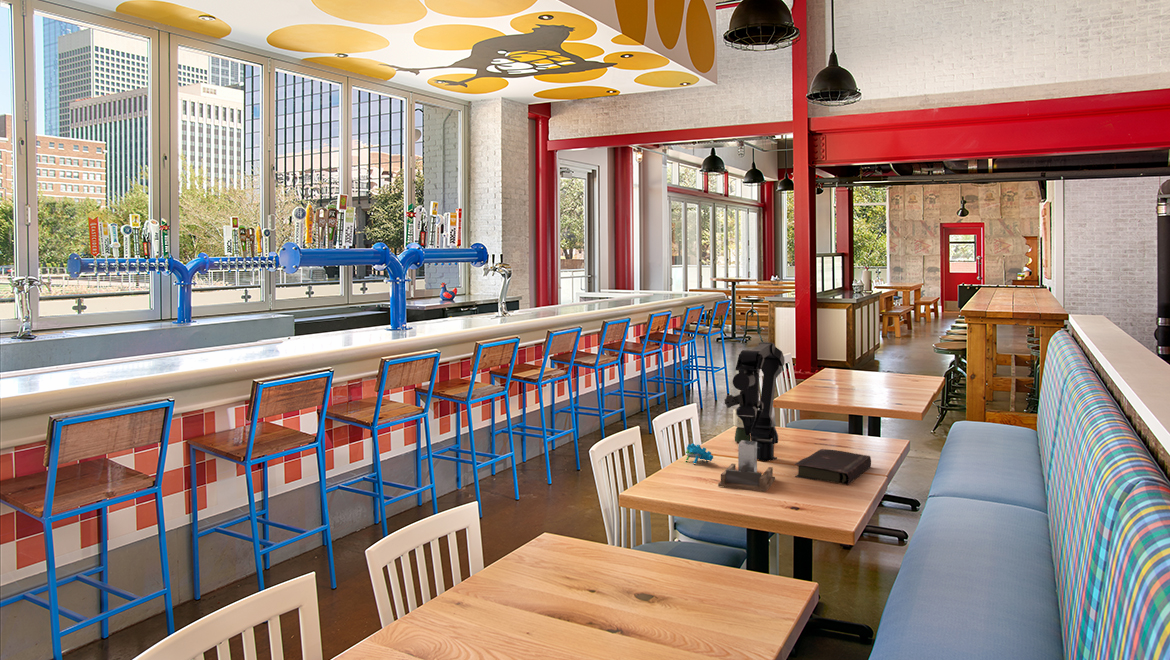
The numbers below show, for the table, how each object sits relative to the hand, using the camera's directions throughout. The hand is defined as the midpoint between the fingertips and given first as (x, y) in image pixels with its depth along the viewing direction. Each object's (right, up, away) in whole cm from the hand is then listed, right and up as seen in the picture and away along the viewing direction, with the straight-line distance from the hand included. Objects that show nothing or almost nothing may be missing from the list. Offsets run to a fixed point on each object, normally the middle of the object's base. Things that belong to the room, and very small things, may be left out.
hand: (749, 433), depth 258 cm
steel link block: (-3, -13, -13) cm, 19 cm away
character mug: (+6, -10, +41) cm, 42 cm away
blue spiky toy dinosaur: (-15, -13, +13) cm, 23 cm away
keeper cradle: (-4, -14, -14) cm, 20 cm away
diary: (+27, -13, -3) cm, 30 cm away
